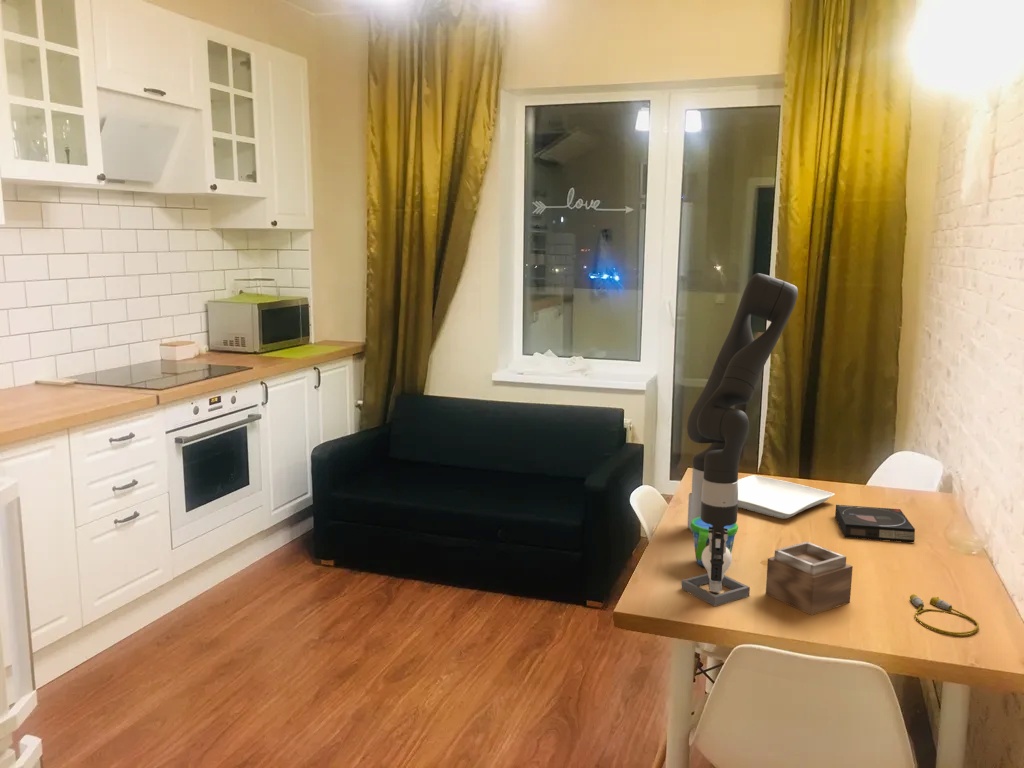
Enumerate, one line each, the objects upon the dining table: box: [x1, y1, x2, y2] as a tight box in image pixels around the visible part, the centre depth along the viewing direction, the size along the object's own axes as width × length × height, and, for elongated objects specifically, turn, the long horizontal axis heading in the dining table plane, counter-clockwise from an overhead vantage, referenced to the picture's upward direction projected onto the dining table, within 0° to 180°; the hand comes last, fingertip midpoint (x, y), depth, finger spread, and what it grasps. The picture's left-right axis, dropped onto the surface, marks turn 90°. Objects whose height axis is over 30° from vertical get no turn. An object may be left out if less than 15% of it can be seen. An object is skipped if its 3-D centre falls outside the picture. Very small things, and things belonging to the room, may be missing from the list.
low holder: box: [680, 573, 751, 607], centre depth 175 cm, size 10×10×2 cm
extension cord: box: [909, 593, 980, 637], centre depth 163 cm, size 12×16×2 cm
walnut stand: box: [765, 541, 853, 616], centre depth 172 cm, size 12×12×10 cm
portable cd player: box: [834, 504, 916, 543], centre depth 214 cm, size 16×17×4 cm
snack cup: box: [691, 517, 739, 568], centre depth 190 cm, size 16×10×10 cm
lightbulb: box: [701, 545, 733, 594], centre depth 174 cm, size 6×6×11 cm
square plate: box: [738, 474, 835, 520], centre depth 237 cm, size 27×27×4 cm
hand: (716, 574), depth 174 cm, fingers closed on lightbulb, 6 cm apart
